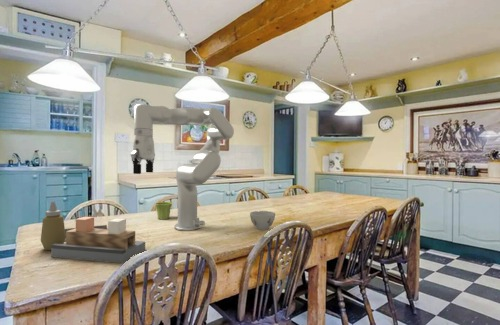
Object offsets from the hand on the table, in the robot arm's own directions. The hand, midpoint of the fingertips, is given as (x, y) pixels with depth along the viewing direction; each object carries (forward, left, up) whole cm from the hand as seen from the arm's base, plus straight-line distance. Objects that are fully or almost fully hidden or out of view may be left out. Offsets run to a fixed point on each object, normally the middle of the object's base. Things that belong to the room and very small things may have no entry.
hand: (143, 173), depth 124 cm
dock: (+5, +21, -28) cm, 36 cm away
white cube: (-2, +21, -20) cm, 29 cm away
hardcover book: (+30, +3, -29) cm, 42 cm away
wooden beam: (+5, +21, -25) cm, 33 cm away
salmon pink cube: (+12, +21, -20) cm, 31 cm away
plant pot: (+9, -36, -28) cm, 47 cm away
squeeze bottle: (+26, +20, -28) cm, 43 cm away
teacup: (-48, -27, -28) cm, 62 cm away
